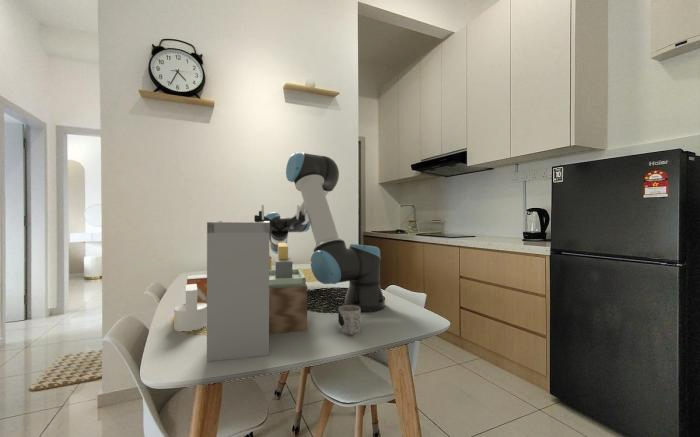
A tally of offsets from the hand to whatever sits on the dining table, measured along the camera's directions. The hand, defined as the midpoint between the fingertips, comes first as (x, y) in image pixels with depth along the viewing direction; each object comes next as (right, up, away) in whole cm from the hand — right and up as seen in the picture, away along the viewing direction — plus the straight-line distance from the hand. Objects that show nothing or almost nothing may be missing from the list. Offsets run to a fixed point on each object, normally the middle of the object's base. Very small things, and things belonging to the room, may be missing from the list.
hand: (280, 208), depth 119 cm
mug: (+27, -38, -29) cm, 55 cm away
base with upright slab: (-22, -37, -25) cm, 50 cm away
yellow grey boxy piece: (+4, -23, -16) cm, 29 cm away
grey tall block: (-1, -37, -40) cm, 55 cm away
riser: (+6, -37, -21) cm, 43 cm away
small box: (-25, -37, -14) cm, 47 cm away
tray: (+6, -24, -21) cm, 33 cm away
